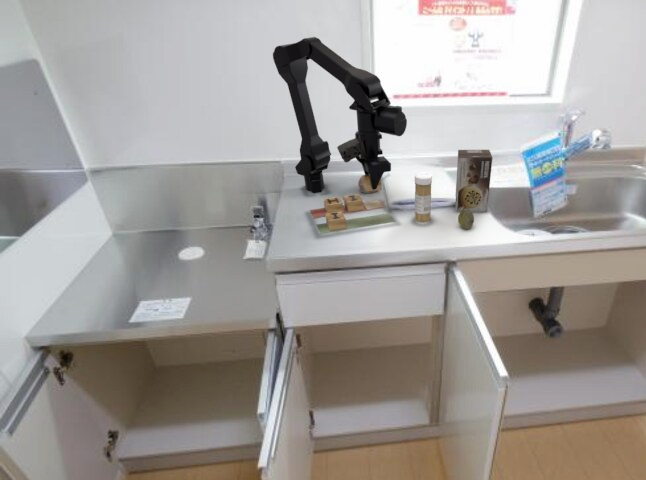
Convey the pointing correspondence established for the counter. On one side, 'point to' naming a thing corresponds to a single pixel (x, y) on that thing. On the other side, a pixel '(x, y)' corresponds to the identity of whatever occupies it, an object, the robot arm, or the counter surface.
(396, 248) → the counter surface
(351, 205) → the tile
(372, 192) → the garlic bulb
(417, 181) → the sprinkles bottle
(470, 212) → the lime
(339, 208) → the tile
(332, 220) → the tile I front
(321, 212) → the letter board
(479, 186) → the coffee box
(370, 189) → the tile
